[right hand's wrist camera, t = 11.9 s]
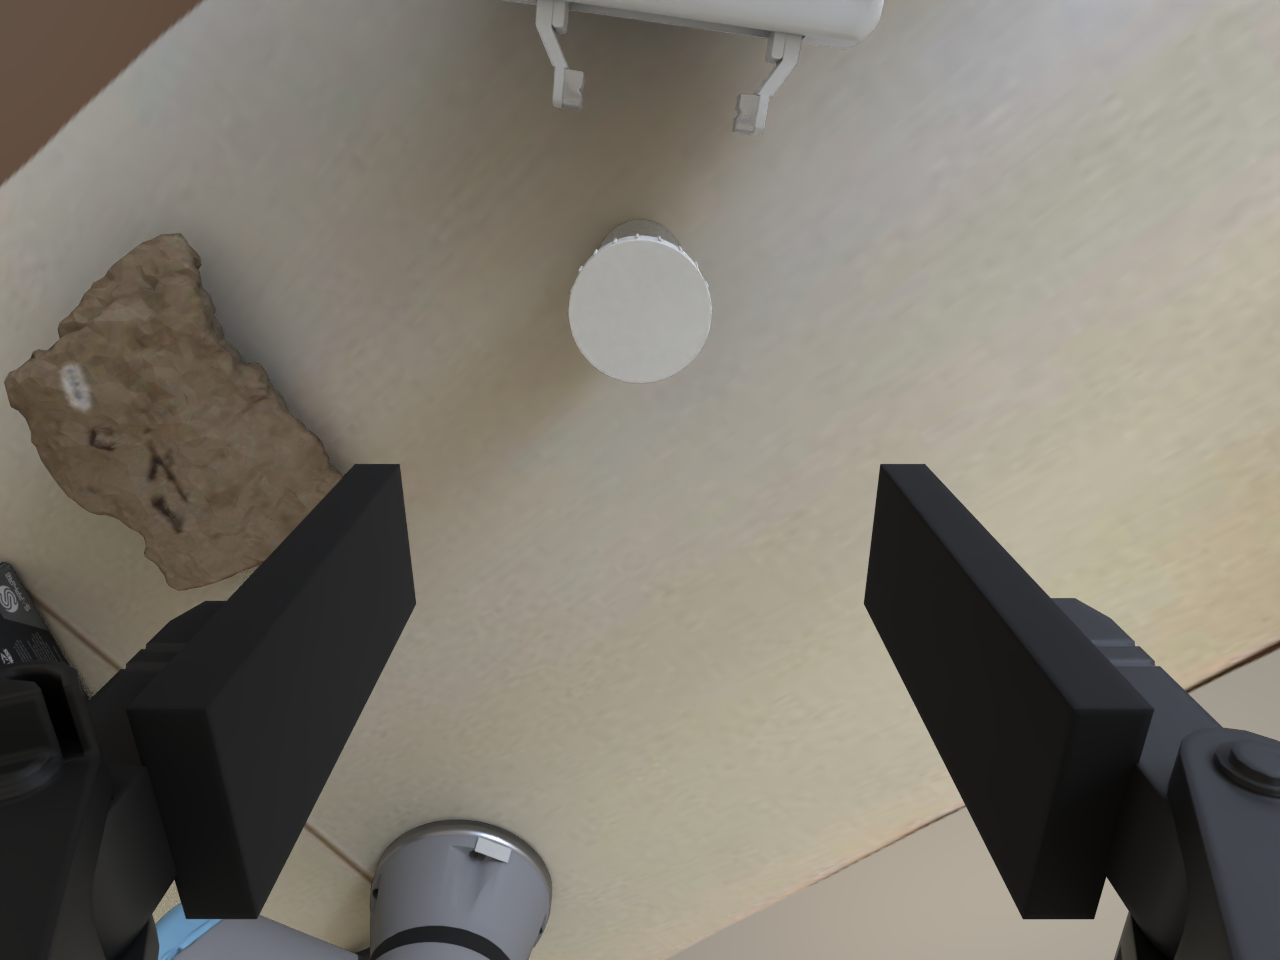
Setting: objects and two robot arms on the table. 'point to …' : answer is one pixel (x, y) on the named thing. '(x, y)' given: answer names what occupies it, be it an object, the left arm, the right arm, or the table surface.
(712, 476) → the table surface
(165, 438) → the stone
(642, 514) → the table surface
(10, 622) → the graphics card box
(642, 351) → the lid
